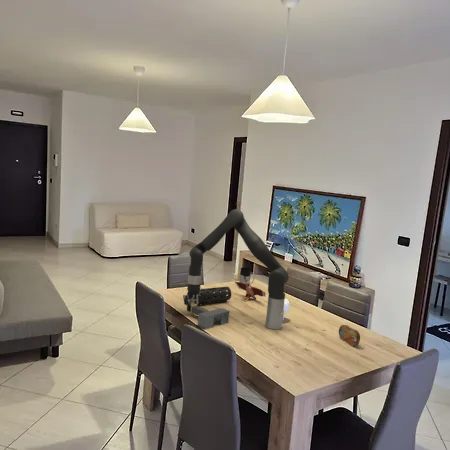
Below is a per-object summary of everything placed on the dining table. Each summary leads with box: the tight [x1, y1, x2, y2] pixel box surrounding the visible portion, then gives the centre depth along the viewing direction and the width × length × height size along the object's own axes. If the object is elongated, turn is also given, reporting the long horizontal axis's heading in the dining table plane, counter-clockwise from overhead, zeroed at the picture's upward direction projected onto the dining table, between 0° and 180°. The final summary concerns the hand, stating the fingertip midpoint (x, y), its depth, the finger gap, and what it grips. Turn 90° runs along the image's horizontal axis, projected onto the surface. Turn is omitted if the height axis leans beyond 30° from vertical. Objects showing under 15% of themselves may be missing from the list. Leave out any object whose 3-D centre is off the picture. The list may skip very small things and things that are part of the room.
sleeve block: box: [197, 307, 230, 330], centre depth 228 cm, size 6×18×7 cm, turn 135°
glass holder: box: [237, 267, 256, 291], centre depth 306 cm, size 9×14×15 cm, turn 40°
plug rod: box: [189, 302, 209, 316], centre depth 237 cm, size 16×4×4 cm, turn 46°
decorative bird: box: [234, 277, 267, 302], centre depth 278 cm, size 28×18×15 cm, turn 42°
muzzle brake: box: [189, 286, 232, 306], centre depth 265 cm, size 10×28×10 cm, turn 123°
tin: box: [338, 324, 361, 347], centre depth 219 cm, size 15×3×8 cm, turn 21°
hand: (192, 310), depth 241 cm, fingers closed on plug rod, 4 cm apart
